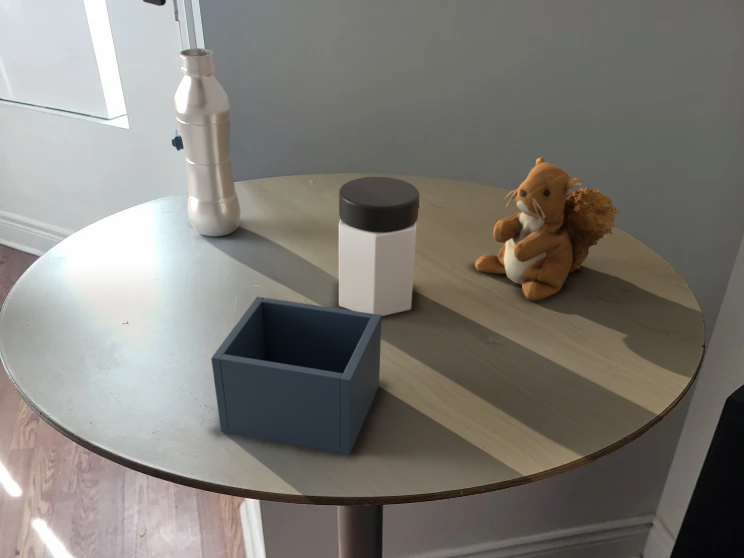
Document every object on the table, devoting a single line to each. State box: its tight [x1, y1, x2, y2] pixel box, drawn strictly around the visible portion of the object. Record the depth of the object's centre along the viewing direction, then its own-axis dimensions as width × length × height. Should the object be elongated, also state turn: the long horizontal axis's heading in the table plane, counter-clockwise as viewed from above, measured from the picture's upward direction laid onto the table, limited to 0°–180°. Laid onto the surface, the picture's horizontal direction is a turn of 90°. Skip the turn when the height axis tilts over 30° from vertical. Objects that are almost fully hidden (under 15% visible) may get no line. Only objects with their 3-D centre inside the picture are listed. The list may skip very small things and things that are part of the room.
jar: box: [338, 176, 420, 317], centre depth 82 cm, size 9×8×12 cm
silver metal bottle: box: [173, 48, 241, 237], centre depth 91 cm, size 6×7×20 cm
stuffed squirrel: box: [474, 157, 621, 302], centre depth 87 cm, size 10×14×13 cm
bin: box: [210, 296, 383, 455], centre depth 68 cm, size 12×11×8 cm
